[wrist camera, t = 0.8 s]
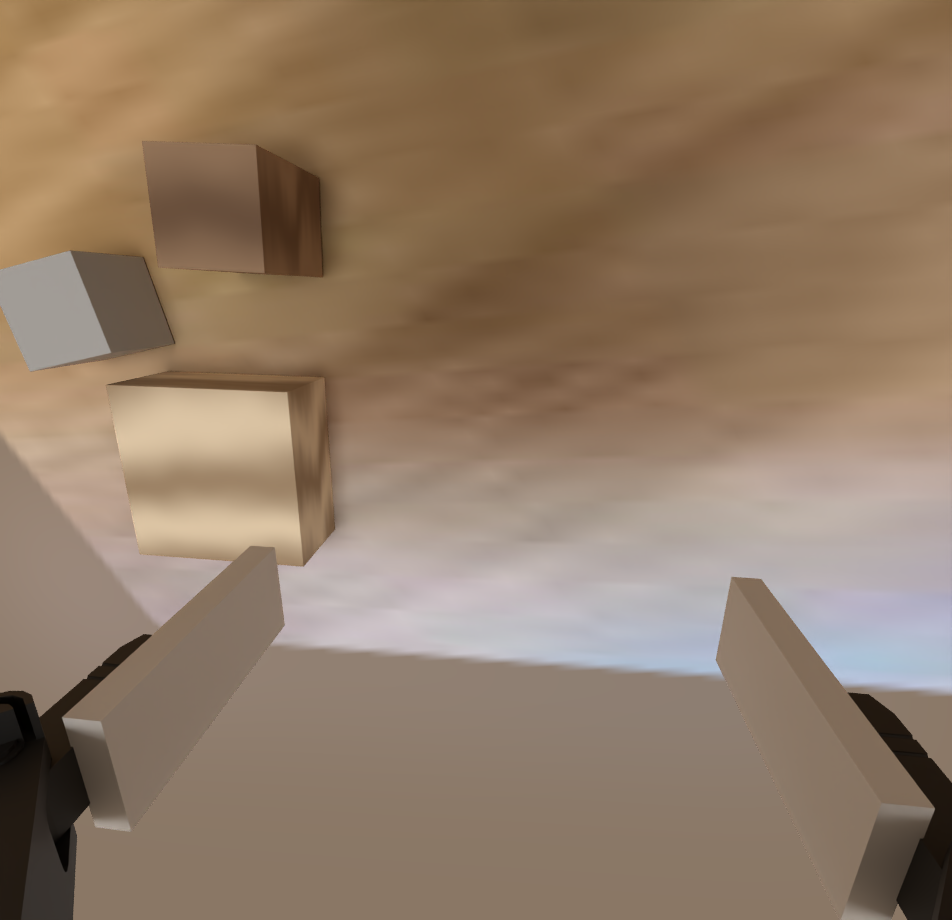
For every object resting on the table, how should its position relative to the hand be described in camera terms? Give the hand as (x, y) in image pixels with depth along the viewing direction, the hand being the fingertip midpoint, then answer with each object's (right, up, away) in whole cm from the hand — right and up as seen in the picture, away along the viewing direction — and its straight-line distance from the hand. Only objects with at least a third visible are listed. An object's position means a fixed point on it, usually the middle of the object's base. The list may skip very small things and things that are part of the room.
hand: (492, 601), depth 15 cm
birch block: (-17, +5, +25) cm, 31 cm away
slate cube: (-26, +15, +22) cm, 37 cm away
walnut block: (-14, +20, +19) cm, 31 cm away
